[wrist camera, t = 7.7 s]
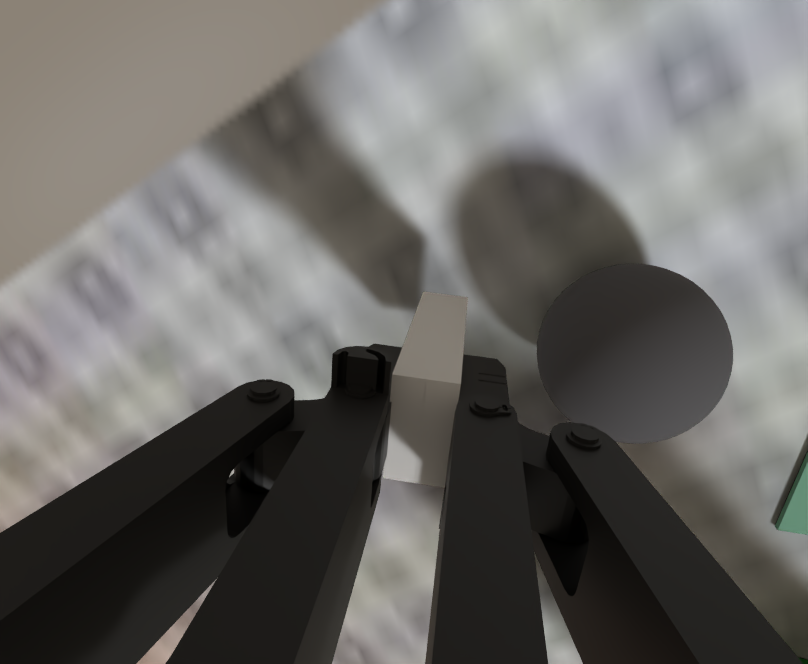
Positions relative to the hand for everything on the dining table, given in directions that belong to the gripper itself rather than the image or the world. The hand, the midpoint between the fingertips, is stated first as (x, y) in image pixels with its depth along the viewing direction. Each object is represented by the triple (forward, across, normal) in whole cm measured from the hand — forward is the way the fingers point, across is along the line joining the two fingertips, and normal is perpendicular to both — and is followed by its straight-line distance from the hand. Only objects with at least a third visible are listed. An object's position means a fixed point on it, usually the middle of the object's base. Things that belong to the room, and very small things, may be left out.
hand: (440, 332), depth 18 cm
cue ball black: (-1, +6, 0) cm, 6 cm away
